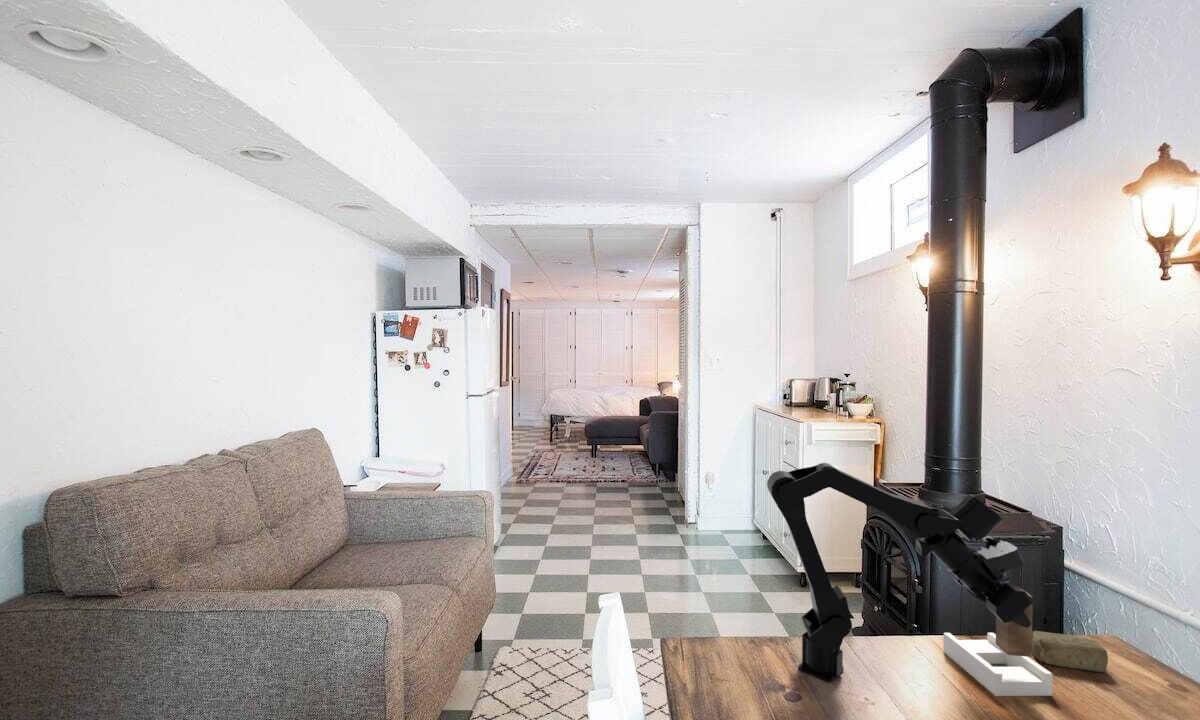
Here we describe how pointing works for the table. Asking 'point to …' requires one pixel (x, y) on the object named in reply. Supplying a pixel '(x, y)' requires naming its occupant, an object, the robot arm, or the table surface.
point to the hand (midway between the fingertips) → (1022, 620)
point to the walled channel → (998, 667)
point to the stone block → (1069, 651)
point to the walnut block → (1015, 635)
